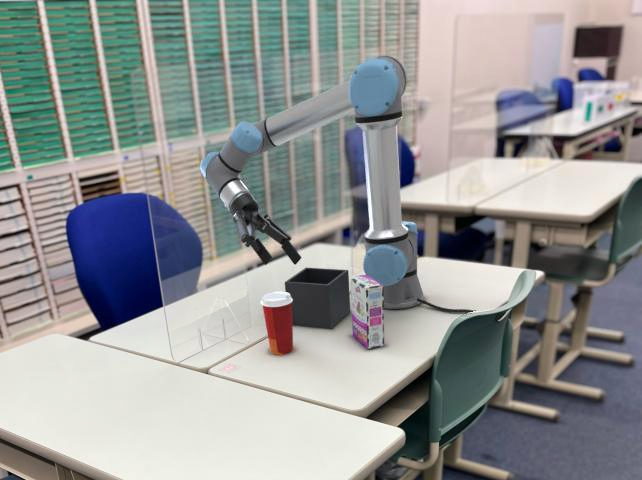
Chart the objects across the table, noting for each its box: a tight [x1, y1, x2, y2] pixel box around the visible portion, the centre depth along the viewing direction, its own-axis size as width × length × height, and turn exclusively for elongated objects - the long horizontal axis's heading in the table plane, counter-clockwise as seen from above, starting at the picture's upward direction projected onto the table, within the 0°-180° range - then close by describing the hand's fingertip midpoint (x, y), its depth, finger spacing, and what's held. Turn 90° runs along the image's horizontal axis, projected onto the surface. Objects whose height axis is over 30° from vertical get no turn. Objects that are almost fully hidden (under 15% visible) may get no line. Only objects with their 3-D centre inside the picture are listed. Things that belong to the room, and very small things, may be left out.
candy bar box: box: [349, 274, 385, 350], centre depth 181 cm, size 11×5×16 cm, turn 18°
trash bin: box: [284, 267, 351, 330], centre depth 200 cm, size 14×14×13 cm
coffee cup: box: [260, 290, 294, 356], centre depth 181 cm, size 8×8×15 cm
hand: (283, 261), depth 186 cm, fingers open, 13 cm apart
